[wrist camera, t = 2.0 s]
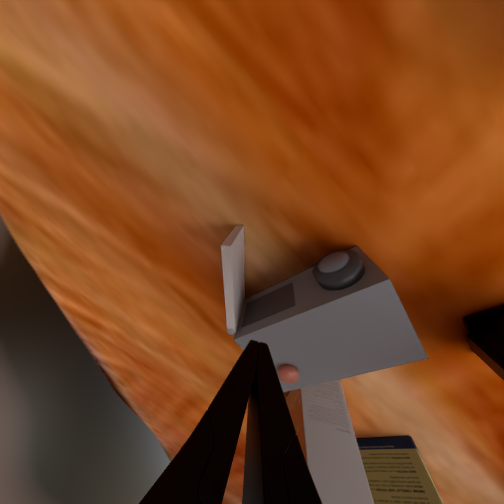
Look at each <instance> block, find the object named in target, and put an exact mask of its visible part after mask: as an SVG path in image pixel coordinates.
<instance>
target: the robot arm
mask: <svg viewBox="0 0 504 504" xmlns="http://www.w3.org/2000/svg"><path fill="white" fill-rule="evenodd" d="M463 321H464V324H465V327H466V330H467V332H468V334H467V339H468V341H469V344H470V347H471V349H472V351H473V352H474V353H475V354H476V355H477V356H479V357H480V358H481V359H482V360H483V361H484V362H485V363H486V364H487V365H488V366H489V367H490V368H491V369H492V370H493V371H494V372H495V373H496V374H497V375H498V376H499V377H501V378H502V379H503V380H504V306H501V307H498V308H494V309H491V310H487V311H484V312H480V313H477V314H473V315H470V316H467V317H465V318H464V319H463ZM248 399H249V400H248ZM247 403H248V416H247V432H246V449H245V465H244V481H243V497H242V504H322V501H321V499H320V496H319V494H318V491H317V489H316V486H315V484H314V481H313V479H312V476H311V474H310V471H309V468H308V465H307V463H306V460H305V457H304V454H303V451H302V448H301V445H300V442H299V439H298V436H297V435H296V430H295V427H294V424H293V421H292V418H291V414H290V411H289V408H288V405H287V402H286V399H285V396H284V393H283V390H282V387H281V384H280V381H279V377H278V374H277V371H276V368H275V365H274V362H273V359H272V356H271V353H270V350H269V347H268V344H267V343H263V342H258V341H255V340H250V341H249V343H248V344H247V346H246V348H245V349H244V351H243V352H242V354H241V356H240V357H239V359H238V361H237V362H236V364H235V365H234V367H233V369H232V370H231V372H230V373H229V375H228V377H227V378H226V380H225V382H224V383H223V385H222V386H221V388H220V390H219V391H218V393H217V395H216V396H215V398H214V399H213V401H212V403H211V404H210V406H209V407H208V410H207V411H206V412H205V414H204V415H203V417H202V419H201V420H200V422H199V423H198V425H197V426H196V428H195V429H194V431H193V432H192V434H191V435H190V437H189V438H188V440H187V441H186V442H185V444H184V445H183V446H182V448H181V449H180V451H179V452H178V453H177V455H176V456H175V457H174V459H173V460H172V461H171V462H170V464H169V465H168V466H167V468H166V469H165V470H164V472H163V473H162V474H161V476H160V477H159V478H158V479H157V481H156V482H155V483H154V485H153V486H152V487H151V489H150V490H149V491H148V492H147V494H146V495H145V496H144V498H143V499H142V500H141V501H140V503H139V504H222V500H223V496H224V492H225V488H226V485H227V481H228V477H229V473H230V469H231V465H232V461H233V457H234V453H235V450H236V446H237V442H238V438H239V434H240V430H241V426H242V422H243V418H244V415H245V411H246V407H247Z"/></svg>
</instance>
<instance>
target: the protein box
mask: <svg viewBox="0 0 504 504" xmlns="http://www.w3.org/2000/svg"><path fill="white" fill-rule="evenodd" d="M356 441H357V444H358V448H359V451H360V455H361V458H362V462H363V466H364V469H365V473H366V477H367V480H368V484H369V487H370V491H371V495H372V498H373V502H374V504H443V501H442V499H441V497H440V495H439V493H438V491H437V489H436V487H435V485H434V483H433V480H432V478H431V476H430V474H429V472H428V470H427V468H426V466H425V464H424V462H423V460H422V458H421V456H420V454H419V452H418V449H417V447H416V445H415V443H414V441H413V439H412V437H410V436H405V437H383V438H363V439H356Z"/></svg>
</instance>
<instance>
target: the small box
mask: <svg viewBox="0 0 504 504" xmlns="http://www.w3.org/2000/svg"><path fill="white" fill-rule="evenodd" d="M286 402H287V405H288V408H289V411H290V414H291V418H292V421H293V424H294V427H295V430H296V435H297V436H298V439H299V442H300V445H301V448H302V451H303V454H304V457H305V460H306V463H307V465H308V468H309V471H310V474H311V476H312V479H313V481H314V484H315V486H316V489H317V491H318V494H319V496H320V499H321V501H322V504H374V502H373V498H372V495H371V491H370V487H369V484H368V480H367V477H366V473H365V469H364V466H363V462H362V458H361V455H360V451H359V448H358V444H357V441H356V437H355V433H354V430H353V426H352V423H351V419H350V415H349V412H348V408H347V404H346V400H345V397H344V393H343V389H342V386H341V382H340V380H334V381H330V382H325V383H321V384H317V385H313V386H308V387H304V388H300V389H295V390H291V391H290V392H289V394H288V396H287V398H286Z"/></svg>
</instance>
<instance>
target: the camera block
mask: <svg viewBox="0 0 504 504" xmlns="http://www.w3.org/2000/svg"><path fill="white" fill-rule="evenodd" d="M250 340H255V341H258V342H263V343H267V344H268V347H269V350H270V353H271V356H272V359H273V362H274V365H275V368H276V371H277V374H278V377H279V381H280V384H281V387H282V390H283V392H287V391H291V390H295V389H300V388H304V387H308V386H313V385H317V384H321V383H325V382H330V381H334V380H338V379H343V378H347V377H351V376H355V375H360V374H364V373H368V372H373V371H377V370H381V369H385V368H390V367H394V366H398V365H403V364H407V363H411V362H416V361H420V360H424V359H428V357H427V355H426V352H425V350H424V348H423V346H422V344H421V342H420V340H419V338H418V336H417V334H416V332H415V330H414V328H413V326H412V324H411V322H410V319H409V317H408V315H407V313H406V311H405V309H404V307H403V305H402V303H401V301H400V299H399V297H398V295H397V293H396V291H395V288H394V286H393V284H392V282H391V280H390V279H389V278H388V277H387V275H386V274H385V273H384V272H383V271H382V270H381V269H380V268H379V267H378V266H377V265H376V264H375V263H374V262H373V261H372V260H371V259H370V258H369V257H368V256H367V255H366V254H365V253H364V252H363V251H362V250H361V249H360V248H359V247H358V246H355V247H353V248H351V249H349V250H339V251H335V252H332V253H330V254H328V255H326V256H324V257H323V258H321V259H320V260H319V261H318V262H317V263H316V264H315V266H313V267H311V268H309V269H307V270H305V271H303V272H301V273H299V274H296V275H294V276H292V277H290V278H288V279H286V280H284V281H282V282H280V283H278V284H275V285H273V286H271V287H269V288H267V289H265V290H263V291H261V292H259V293H256V294H254V295H252V296H250V297H248V298H246V299H245V300H244V303H243V307H242V311H241V315H240V318H239V322H238V326H237V329H236V333H235V337H234V341H235V342H236V343H237V344H238V345H239V346H240V347H241V348H242V349H243V350H244V349H245V348H246V346H247V344H248V343H249V341H250Z"/></svg>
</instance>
